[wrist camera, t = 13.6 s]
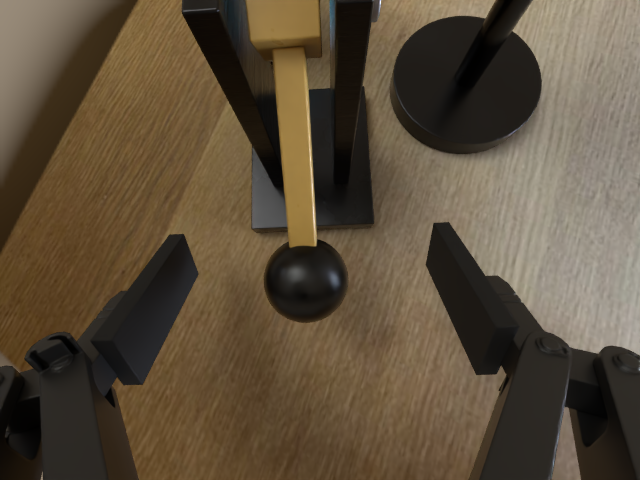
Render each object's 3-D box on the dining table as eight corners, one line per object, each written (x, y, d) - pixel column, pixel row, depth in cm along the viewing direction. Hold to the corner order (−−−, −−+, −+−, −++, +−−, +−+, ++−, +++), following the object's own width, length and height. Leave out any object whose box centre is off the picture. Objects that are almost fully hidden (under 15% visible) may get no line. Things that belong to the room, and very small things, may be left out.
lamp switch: (346, 294, 15) (352, 339, 12) (275, 297, 15) (260, 342, 12) (337, -26, 11) (342, -101, 8) (240, -19, 11) (203, -90, 8)
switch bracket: (371, 227, 21) (448, 94, 7) (255, 232, 21) (113, 114, 7) (362, 97, 22) (409, -208, 9) (256, 103, 23) (143, -184, 9)
